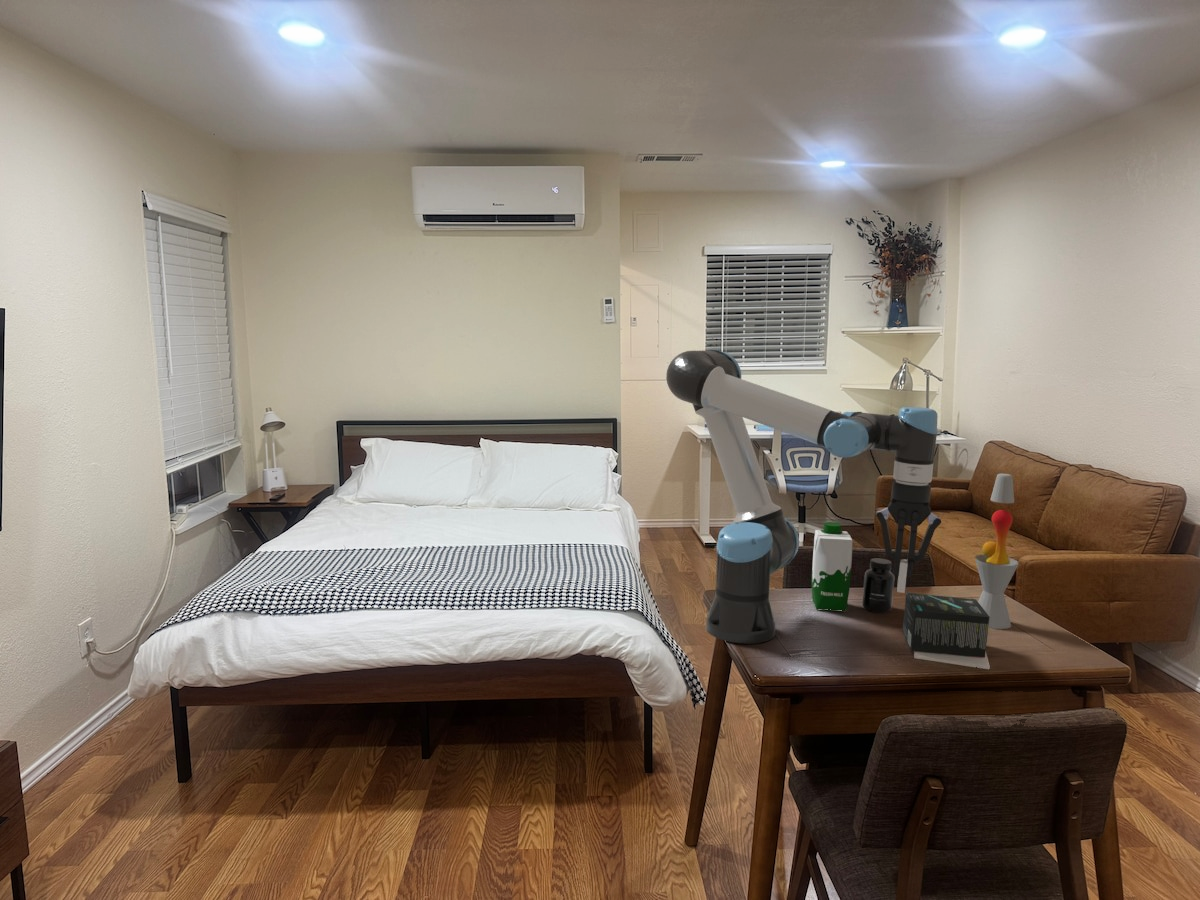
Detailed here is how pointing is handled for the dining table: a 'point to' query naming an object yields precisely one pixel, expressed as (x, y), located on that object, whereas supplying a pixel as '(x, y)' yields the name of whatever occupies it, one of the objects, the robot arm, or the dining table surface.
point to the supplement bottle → (878, 586)
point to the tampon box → (945, 625)
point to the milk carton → (831, 567)
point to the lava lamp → (997, 559)
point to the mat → (954, 659)
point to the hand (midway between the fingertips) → (900, 590)
